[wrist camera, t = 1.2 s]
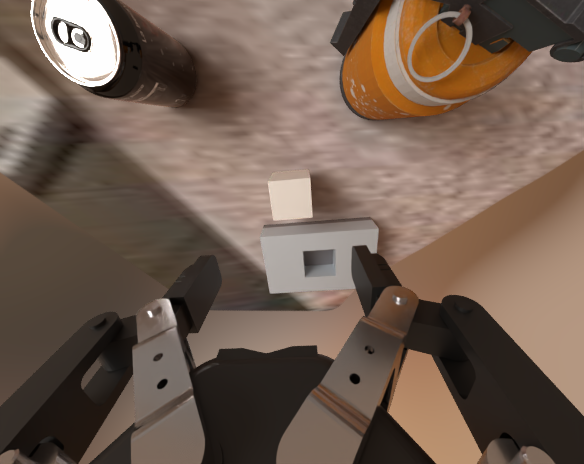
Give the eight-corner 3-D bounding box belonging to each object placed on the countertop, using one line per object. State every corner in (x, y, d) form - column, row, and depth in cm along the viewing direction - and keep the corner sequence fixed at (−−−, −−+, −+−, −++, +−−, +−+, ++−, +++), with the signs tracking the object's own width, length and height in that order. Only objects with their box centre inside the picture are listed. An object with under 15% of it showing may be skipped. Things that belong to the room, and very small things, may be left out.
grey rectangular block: (369, 217, 32) (378, 228, 29) (366, 271, 37) (373, 287, 33) (264, 225, 34) (259, 237, 30) (272, 277, 38) (270, 293, 34)
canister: (386, 133, 27) (552, 148, 9) (308, 88, 26) (331, 1, 8) (436, 52, 24) (859, -173, 6) (350, -7, 22) (580, -601, 4)
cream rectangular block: (307, 165, 29) (310, 177, 23) (309, 197, 31) (312, 217, 25) (274, 168, 30) (267, 181, 23) (278, 200, 32) (273, 220, 25)
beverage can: (141, 26, 24) (8, -57, 13) (203, 50, 24) (128, -9, 14) (140, 96, 26) (31, 76, 16) (196, 116, 27) (129, 110, 16)
